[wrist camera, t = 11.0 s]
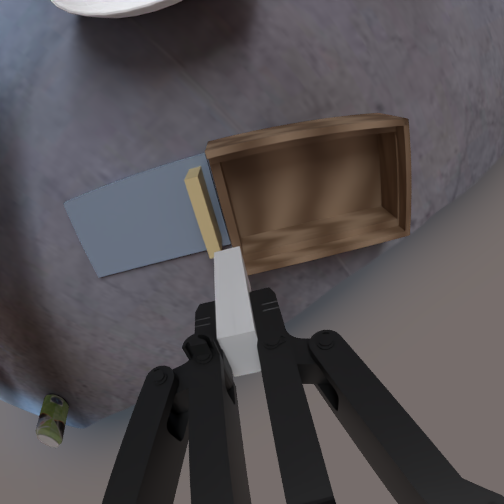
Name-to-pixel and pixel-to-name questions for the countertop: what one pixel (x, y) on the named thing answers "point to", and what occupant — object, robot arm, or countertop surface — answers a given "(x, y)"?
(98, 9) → the bowl
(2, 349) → the countertop surface
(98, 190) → the lid
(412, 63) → the countertop surface
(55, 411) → the beverage can
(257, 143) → the box
